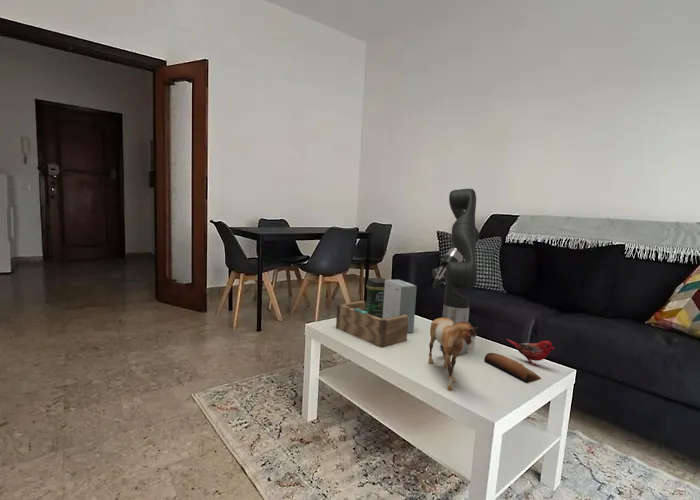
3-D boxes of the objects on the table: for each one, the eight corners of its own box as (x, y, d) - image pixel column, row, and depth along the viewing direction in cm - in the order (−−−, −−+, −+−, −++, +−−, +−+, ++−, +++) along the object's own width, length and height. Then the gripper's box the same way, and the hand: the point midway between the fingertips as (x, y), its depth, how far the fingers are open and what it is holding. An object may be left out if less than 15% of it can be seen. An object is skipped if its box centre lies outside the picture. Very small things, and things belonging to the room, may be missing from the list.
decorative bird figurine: (550, 372, 134) (553, 343, 133) (501, 355, 148) (504, 328, 147) (554, 370, 136) (557, 342, 135) (505, 353, 150) (508, 327, 149)
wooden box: (406, 340, 158) (408, 314, 157) (381, 347, 149) (383, 319, 148) (360, 322, 178) (362, 299, 177) (336, 327, 169) (337, 303, 168)
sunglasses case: (544, 379, 129) (539, 363, 127) (530, 392, 126) (524, 376, 124) (500, 358, 145) (495, 344, 142) (487, 370, 142) (481, 355, 140)
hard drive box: (414, 333, 168) (417, 286, 166) (397, 334, 166) (401, 286, 163) (396, 322, 183) (399, 278, 180) (381, 323, 180) (384, 279, 177)
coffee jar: (369, 320, 183) (372, 280, 181) (361, 315, 190) (364, 276, 188) (388, 318, 187) (390, 279, 185) (379, 313, 194) (382, 276, 192)
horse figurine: (473, 397, 113) (479, 327, 111) (445, 397, 113) (452, 325, 111) (443, 356, 144) (447, 299, 142) (421, 355, 144) (426, 298, 141)
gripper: (438, 252, 197) (419, 279, 191) (461, 256, 187) (442, 284, 181) (443, 262, 201) (426, 289, 195) (466, 266, 191) (448, 294, 185)
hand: (434, 286), depth 188 cm, fingers closed
